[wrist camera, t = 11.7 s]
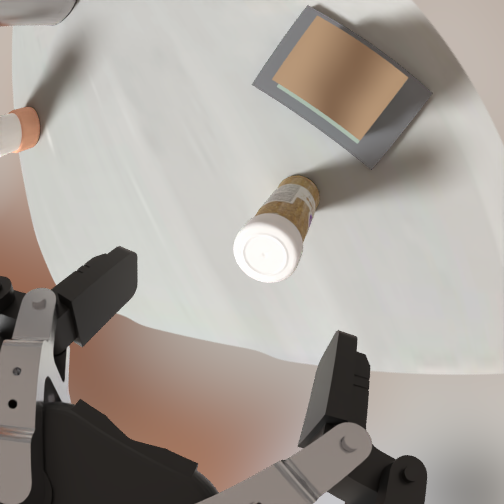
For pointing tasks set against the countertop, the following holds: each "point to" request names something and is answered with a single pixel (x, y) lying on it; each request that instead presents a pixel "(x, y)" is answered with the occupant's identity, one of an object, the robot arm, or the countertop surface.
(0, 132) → the salt shaker
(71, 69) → the countertop surface
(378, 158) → the build plate
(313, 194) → the sprinkles bottle
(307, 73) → the walnut brick
